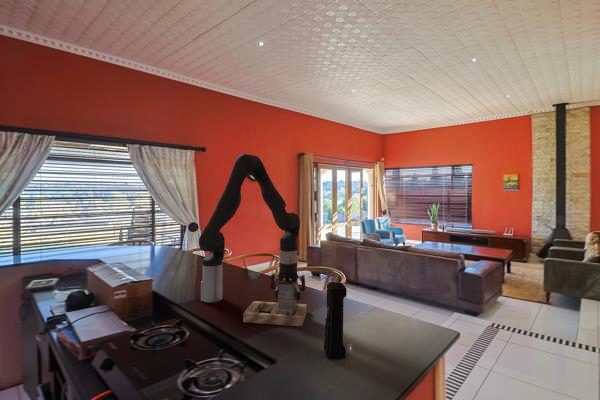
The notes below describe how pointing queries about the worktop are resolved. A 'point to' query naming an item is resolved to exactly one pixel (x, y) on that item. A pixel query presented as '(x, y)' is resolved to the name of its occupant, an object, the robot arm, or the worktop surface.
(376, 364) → the worktop surface
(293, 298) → the coffee box
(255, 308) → the wooden divided tray
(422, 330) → the worktop surface
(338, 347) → the portable radio
